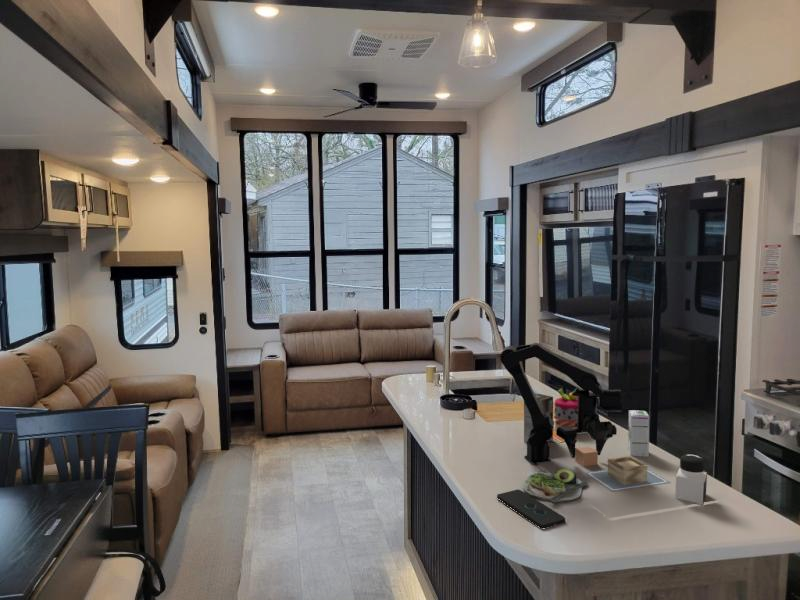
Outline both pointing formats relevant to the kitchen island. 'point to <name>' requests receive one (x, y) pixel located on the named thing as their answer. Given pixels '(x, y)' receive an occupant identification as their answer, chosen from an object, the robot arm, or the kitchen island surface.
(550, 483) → the salad plate
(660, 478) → the board
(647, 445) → the syrup box
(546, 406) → the coffee box
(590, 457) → the terracotta block
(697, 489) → the medicine bottle
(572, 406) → the cake
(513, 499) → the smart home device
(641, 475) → the oak foundation
